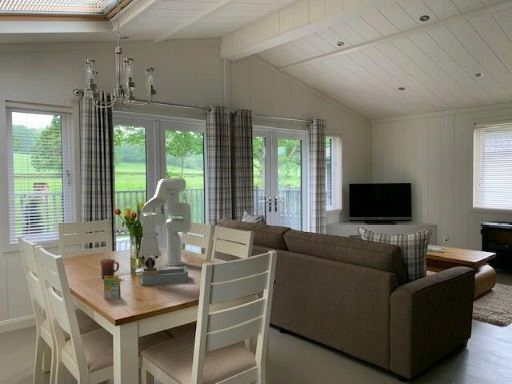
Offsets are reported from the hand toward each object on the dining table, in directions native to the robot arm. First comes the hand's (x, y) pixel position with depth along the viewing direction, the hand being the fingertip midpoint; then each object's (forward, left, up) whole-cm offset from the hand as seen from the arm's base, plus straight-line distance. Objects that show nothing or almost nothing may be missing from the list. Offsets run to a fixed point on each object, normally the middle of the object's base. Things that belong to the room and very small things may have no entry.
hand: (150, 266), depth 229 cm
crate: (0, 0, -7) cm, 7 cm away
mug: (-17, -23, -9) cm, 30 cm away
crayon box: (+25, -19, -9) cm, 33 cm away
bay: (0, +8, -9) cm, 12 cm away
